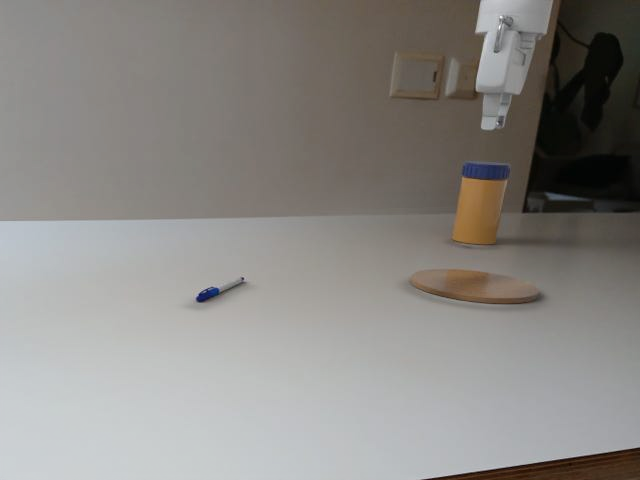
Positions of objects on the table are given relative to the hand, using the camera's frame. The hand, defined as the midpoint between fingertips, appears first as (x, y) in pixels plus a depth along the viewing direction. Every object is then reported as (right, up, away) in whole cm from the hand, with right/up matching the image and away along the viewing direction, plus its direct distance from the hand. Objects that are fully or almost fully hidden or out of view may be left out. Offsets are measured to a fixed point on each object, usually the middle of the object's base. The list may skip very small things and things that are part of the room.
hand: (492, 129), depth 103 cm
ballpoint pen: (-40, -25, -27) cm, 55 cm away
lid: (0, -5, +2) cm, 5 cm away
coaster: (-12, -24, -22) cm, 35 cm away
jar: (0, -15, +5) cm, 16 cm away
